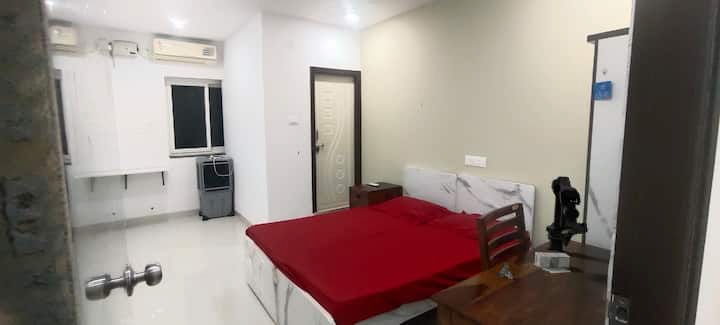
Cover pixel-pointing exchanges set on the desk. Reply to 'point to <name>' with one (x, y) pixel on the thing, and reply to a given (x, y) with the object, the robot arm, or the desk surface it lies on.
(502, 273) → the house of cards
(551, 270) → the mat
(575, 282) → the desk surface
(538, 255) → the syrup box
